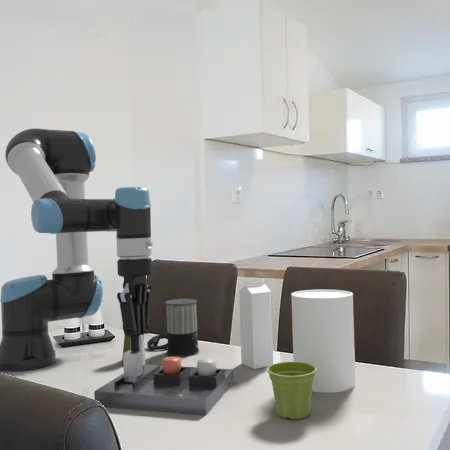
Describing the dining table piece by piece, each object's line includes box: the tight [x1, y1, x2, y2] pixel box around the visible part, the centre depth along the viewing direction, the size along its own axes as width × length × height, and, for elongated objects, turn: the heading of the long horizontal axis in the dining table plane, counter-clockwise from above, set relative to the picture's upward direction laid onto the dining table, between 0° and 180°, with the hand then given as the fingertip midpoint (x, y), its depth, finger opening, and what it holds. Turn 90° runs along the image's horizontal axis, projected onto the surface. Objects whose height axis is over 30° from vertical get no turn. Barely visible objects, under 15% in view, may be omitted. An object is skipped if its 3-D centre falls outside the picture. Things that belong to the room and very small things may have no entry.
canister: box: [290, 289, 356, 393], centre depth 113 cm, size 14×14×20 cm
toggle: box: [122, 350, 143, 382], centre depth 109 cm, size 3×3×6 cm
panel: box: [93, 364, 235, 416], centre depth 109 cm, size 24×20×5 cm
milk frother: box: [146, 298, 200, 357], centre depth 146 cm, size 14×16×15 cm
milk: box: [238, 277, 274, 370], centre depth 129 cm, size 6×6×22 cm
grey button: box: [196, 357, 217, 377], centre depth 107 cm, size 4×4×3 cm
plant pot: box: [266, 361, 317, 420], centre depth 95 cm, size 9×9×9 cm
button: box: [162, 356, 182, 375], centre depth 109 cm, size 4×4×3 cm
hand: (138, 364), depth 111 cm, fingers closed
